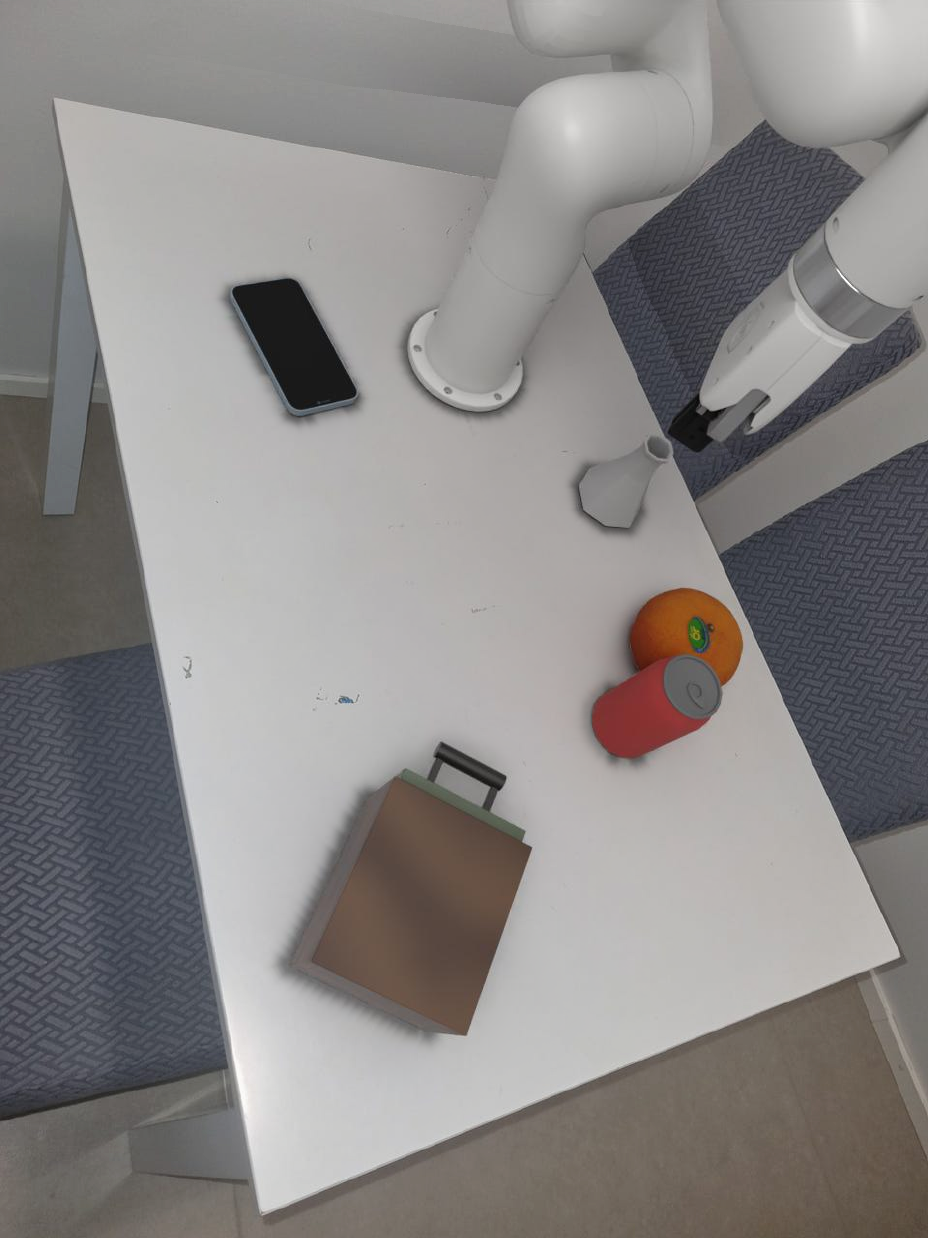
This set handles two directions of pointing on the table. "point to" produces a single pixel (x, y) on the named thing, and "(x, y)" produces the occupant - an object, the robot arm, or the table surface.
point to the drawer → (473, 770)
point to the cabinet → (414, 909)
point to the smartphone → (293, 345)
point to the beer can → (657, 706)
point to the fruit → (687, 631)
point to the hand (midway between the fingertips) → (684, 436)
